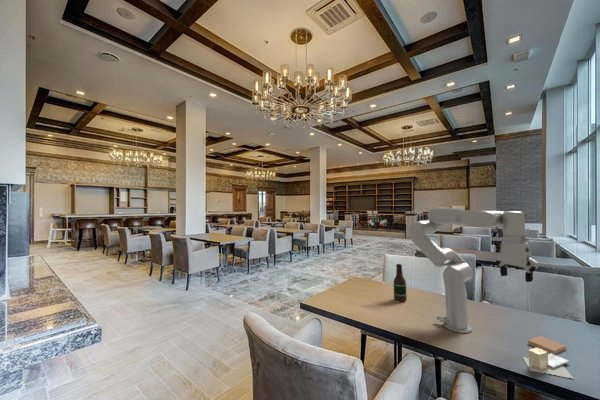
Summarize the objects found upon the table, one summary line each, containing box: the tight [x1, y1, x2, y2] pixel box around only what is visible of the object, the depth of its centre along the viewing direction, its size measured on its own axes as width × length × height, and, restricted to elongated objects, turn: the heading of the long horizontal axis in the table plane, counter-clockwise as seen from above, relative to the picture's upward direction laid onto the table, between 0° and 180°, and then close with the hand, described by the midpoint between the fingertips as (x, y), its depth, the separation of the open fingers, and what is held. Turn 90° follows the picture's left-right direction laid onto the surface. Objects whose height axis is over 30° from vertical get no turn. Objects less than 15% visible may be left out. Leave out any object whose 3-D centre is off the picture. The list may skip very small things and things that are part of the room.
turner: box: [527, 347, 570, 371], centre depth 99 cm, size 16×6×6 cm, turn 108°
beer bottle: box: [393, 263, 408, 303], centre depth 170 cm, size 8×8×24 cm
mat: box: [522, 356, 575, 380], centre depth 97 cm, size 12×9×1 cm
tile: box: [527, 335, 567, 355], centre depth 111 cm, size 2×9×9 cm
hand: (516, 278), depth 111 cm, fingers open, 9 cm apart
